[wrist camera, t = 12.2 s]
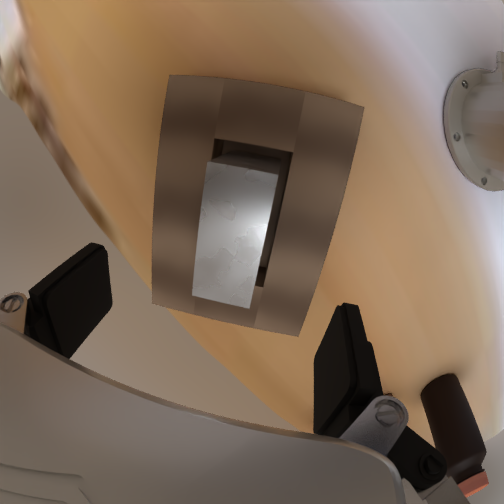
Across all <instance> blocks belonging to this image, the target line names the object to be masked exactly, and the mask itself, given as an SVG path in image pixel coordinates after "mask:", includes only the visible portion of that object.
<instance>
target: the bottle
mask: <svg viewBox="0 0 504 504" xmlns="http://www.w3.org/2000/svg"><path fill="white" fill-rule="evenodd" d="M421 400H422V403H423V406H424V409H425V413H426V416H427V419H428V422H429V426H430V429H431V433H432V436H433V440H434V443H435V447H436V449H437V450H438V451H439V452H440V453H441V454H442V455H443V456H444V458H445V460H446V463H447V472H446V476H447V478H449V477H450V476H451V477H452V478H453V480H454V481H455V482H456V484H457V485H458V487H459V488H460V490H461V491H462V492H463V494H464V495H465V497H468V496H470V495H472V494H474V493H476V492H478V491H479V490H481V489H483V488H484V487H486V486H487V485H488V484H489V482H488V479H487V475H486V472H484V469H482V466H481V464H482V462H483V460H484V457H485V455H486V448H485V445H484V442H483V439H482V436H481V434H480V431H479V428H478V425H477V423H476V420H475V418H474V415H473V413H472V410H471V408H470V405H469V403H468V401H467V398H466V396H465V394H464V391H463V389H462V387H461V385H460V382H459V380H458V378H457V377H456V376H455V375H445V376H442V377H439V378H437V379H435V380H434V381H432V382H431V383H430V384H429V385H428V386H427V387H426V388H425V389H424V390H423V392H422V394H421Z"/></svg>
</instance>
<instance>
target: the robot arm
mask: <svg viewBox="0 0 504 504" xmlns="http://www.w3.org/2000/svg"><path fill="white" fill-rule="evenodd" d="M444 127H445V135H446V139H447V143H448V147H449V149H450V152H451V154H452V157H453V159H454V161H455V163H456V165H457V166H458V168H459V169H460V171H461V172H462V173H463V175H464V176H465V177H466V178H467V179H468V180H469V181H470V182H471V183H473V184H475V185H476V186H478V187H480V188H483V189H485V190H488V191H501V190H504V52H499V51H498V52H497V70H495V71H494V72H492V71H489V70H485V69H472V70H467V71H465V72H463V73H461V74H460V75H459V76H458V77H456V78H455V79H454V81H453V82H452V84H451V86H450V87H449V90H448V93H447V96H446V100H445V106H444ZM29 295H30V298H29V299H28V300H27V297H26V296H25V295H24V294H23V293H20V292H13V293H9V294H7V295H5V296H4V297H3V298H1V299H0V504H470V503H469V501H468V500H467V498H466V497H465V495H464V494H463V492H462V491H461V490H460V488H459V487H458V485H457V484H456V482H455V481H454V480H453V478H452V477H451V476H450V477H449V478H447V476H446V472H447V463H446V460H445V458H444V456H443V455H442V454H441V453H440V452H439V451H438V450H437V449H435V448H434V447H433V446H432V445H430V444H429V443H428V442H426V441H425V440H424V439H423V438H421V437H420V436H419V435H418V434H416V433H415V432H414V431H413V430H412V429H410V428H409V427H408V426H407V422H408V412H407V409H406V407H405V406H404V404H403V403H402V402H400V401H399V400H398V399H396V398H394V397H391V396H383V391H382V386H381V381H380V376H379V372H378V367H377V363H376V359H375V355H374V350H373V346H372V344H371V342H369V341H367V337H366V333H365V329H364V325H363V321H362V318H361V314H360V310H359V307H358V305H354V304H349V303H343V304H342V305H341V306H339V305H338V306H337V307H336V309H335V311H334V314H333V316H332V319H331V321H330V323H329V326H328V328H327V330H326V332H325V335H324V337H323V339H322V341H321V344H320V346H319V348H318V350H317V352H316V355H315V358H314V428H313V430H314V434H311V433H305V432H298V431H292V430H285V429H280V428H274V427H269V426H264V425H259V424H254V423H249V422H244V421H239V420H235V419H230V418H226V417H222V416H218V415H215V414H211V413H207V412H203V411H200V410H196V409H193V408H189V407H186V406H183V405H180V404H177V403H173V402H170V401H167V400H164V399H162V398H159V397H156V396H153V395H150V394H147V393H145V392H142V391H139V390H137V389H134V388H132V387H129V386H126V385H124V384H122V383H119V382H117V381H115V380H112V379H110V378H108V377H105V376H103V375H101V374H99V373H97V372H94V371H92V370H90V369H88V368H86V367H84V366H82V365H80V364H78V363H76V362H74V361H72V360H70V357H72V355H73V354H74V353H75V351H76V350H77V349H78V348H79V346H80V345H81V344H82V343H83V342H84V340H85V339H86V338H87V337H88V335H89V334H90V333H91V332H92V331H93V329H94V328H95V327H96V326H97V325H98V323H99V322H100V321H101V320H102V319H103V317H104V316H105V315H106V314H107V313H108V311H109V310H110V309H111V307H112V293H111V285H110V276H109V265H108V254H107V251H106V250H105V248H104V246H103V245H100V244H96V243H89V244H88V245H87V246H85V247H84V248H83V249H81V250H80V251H78V252H77V253H76V254H75V255H73V256H72V257H70V258H69V259H68V260H66V261H65V262H64V263H62V264H61V265H60V266H58V267H57V268H56V269H55V270H53V271H52V272H51V273H50V274H48V275H47V276H46V277H45V278H43V279H42V280H41V281H40V282H39V283H37V284H36V285H35V286H34V287H32V288H31V289H30V290H29ZM317 434H318V435H317Z"/></svg>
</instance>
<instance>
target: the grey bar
mask: <svg viewBox="0 0 504 504" xmlns="http://www.w3.org/2000/svg"><path fill="white" fill-rule="evenodd" d="M280 163H281V159H276V158H271V157H267V156H262V155H256V154H251V153H246V152H240V151H235V150H233V151H230V152H228V153H226V154H223V155H221V156H219V157H217V158H214V159H212V160H210V161H208V162H207V168H206V175H205V182H204V189H203V196H202V204H201V212H200V220H199V229H198V238H197V247H196V256H195V267H194V277H193V289H192V295H193V296H197V297H201V298H205V299H209V300H213V301H218V302H222V303H226V304H231V305H235V306H240V307H244V308H250V303H251V299H252V295H253V290H254V286H255V281H256V277H257V272H258V268H259V263H260V258H261V254H262V249H263V245H264V240H265V236H266V231H267V226H268V222H269V217H270V213H271V208H272V203H273V199H274V194H275V189H276V185H277V180H278V175H279V169H280Z"/></svg>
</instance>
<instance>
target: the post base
mask: <svg viewBox="0 0 504 504" xmlns="http://www.w3.org/2000/svg"><path fill="white" fill-rule="evenodd" d="M363 112H364V107H362V106H359V105H356V104H352V103H349V102H345V101H342V100H338V99H335V98H331V97H327V96H323V95H319V94H315V93H311V92H306V91H302V90H297V89H292V88H287V87H282V86H277V85H271V84H265V83H259V82H252V81H245V80H237V79H228V78H218V77H206V76H190V75H169V81H168V86H167V92H166V98H165V104H164V111H163V118H162V125H161V133H160V141H159V149H158V159H157V169H156V180H155V194H154V210H153V232H152V303H153V304H156V305H160V306H163V307H167V308H171V309H174V310H178V311H182V312H186V313H190V314H194V315H198V316H202V317H206V318H210V319H214V320H219V321H223V322H227V323H232V324H236V325H241V326H246V327H250V328H255V329H260V330H265V331H270V332H275V333H281V334H286V335H291V336H297V337H298V336H299V334H300V331H301V328H302V326H303V323H304V320H305V317H306V314H307V312H308V309H309V306H310V303H311V300H312V297H313V294H314V292H315V289H316V286H317V283H318V280H319V277H320V274H321V271H322V267H323V264H324V261H325V258H326V255H327V252H328V248H329V245H330V242H331V239H332V235H333V232H334V228H335V225H336V222H337V218H338V215H339V211H340V207H341V204H342V200H343V196H344V193H345V189H346V185H347V181H348V177H349V173H350V169H351V165H352V161H353V157H354V153H355V149H356V144H357V140H358V135H359V131H360V126H361V122H362V117H363ZM233 150H235V151H240V152H246V153H251V154H256V155H262V156H267V157H271V158H276V159H281V163H280V169H279V175H278V180H277V185H276V189H275V194H274V199H273V203H272V208H271V213H270V217H269V222H268V226H267V231H266V236H265V240H264V245H263V249H262V254H261V258H260V263H259V268H258V272H257V277H256V281H255V286H254V290H253V295H252V299H251V303H250V308H244V307H240V306H235V305H231V304H226V303H222V302H218V301H213V300H209V299H205V298H201V297H197V296H193V295H192V289H193V277H194V267H195V256H196V247H197V238H198V229H199V220H200V212H201V204H202V196H203V189H204V182H205V175H206V168H207V162H208V161H210V160H212V159H214V158H217V157H219V156H221V155H223V154H226V153H228V152H230V151H233Z"/></svg>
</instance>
